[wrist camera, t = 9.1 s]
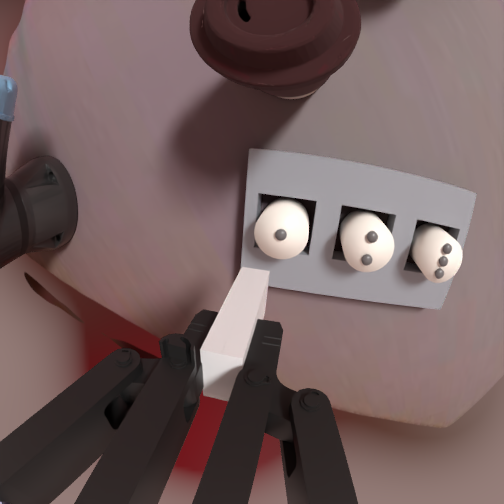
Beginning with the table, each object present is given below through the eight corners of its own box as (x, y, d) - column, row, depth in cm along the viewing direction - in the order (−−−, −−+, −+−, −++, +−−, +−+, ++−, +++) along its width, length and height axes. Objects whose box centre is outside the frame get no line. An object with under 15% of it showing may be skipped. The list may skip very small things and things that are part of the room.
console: (244, 271, 33) (239, 281, 30) (254, 148, 27) (249, 148, 25) (434, 299, 29) (440, 309, 27) (466, 189, 23) (476, 193, 21)
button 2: (335, 250, 28) (338, 269, 24) (343, 205, 27) (349, 218, 22) (377, 256, 28) (387, 277, 23) (387, 213, 26) (400, 227, 22)
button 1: (260, 238, 30) (251, 256, 26) (264, 194, 28) (255, 204, 24) (305, 245, 29) (304, 264, 25) (312, 200, 27) (312, 212, 23)
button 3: (403, 261, 27) (416, 281, 23) (414, 219, 25) (430, 233, 21) (438, 267, 26) (454, 286, 22) (450, 227, 25) (469, 242, 20)
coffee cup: (353, 47, 21) (385, -27, 7) (319, 127, 25) (328, 111, 11) (262, 17, 21) (218, -64, 7) (228, 93, 25) (151, 59, 12)
